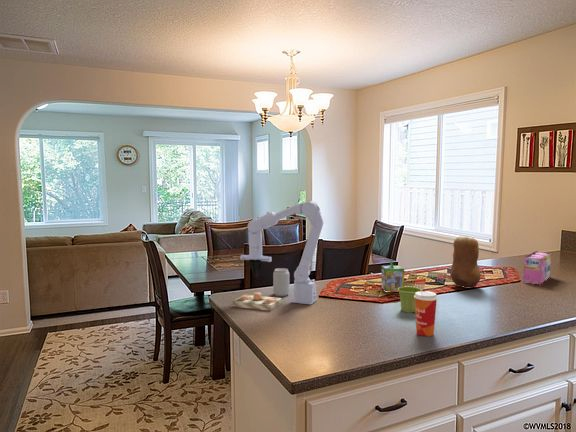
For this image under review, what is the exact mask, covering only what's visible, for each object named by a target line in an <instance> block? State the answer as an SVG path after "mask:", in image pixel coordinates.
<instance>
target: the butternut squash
mask: <svg viewBox="0 0 576 432" xmlns="http://www.w3.org/2000/svg"><path fill="white" fill-rule="evenodd" d="M479 250H480V249H479V242H478V240H477V239H476V238H474V237H470V236H469V237H468V236H458V237H456V238H455V239H454V241H453V253H452V264H451V267H450V269H449V270H450V271H449V274H450V278H451V280H452V282H453V284H455V286H458V285H460V286H459V287H461V286H464V287H471V288H474V287H477V285H478V283H480V281H481V276H482V275H481V271H480V268H479V266H478V259H479Z"/></svg>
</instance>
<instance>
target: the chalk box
mask: <svg viewBox="0 0 576 432" xmlns="http://www.w3.org/2000/svg"><path fill="white" fill-rule="evenodd" d="M388 261H389V264H390V265H381V284H380V285H381V286H380V287H382V288H383V289H384V290H385V291H398V288H399V287H405V268H404V267H402V266H400V265H394V263H393V261H392V260H391V259H389V260H388ZM382 288H381V289H382Z"/></svg>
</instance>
